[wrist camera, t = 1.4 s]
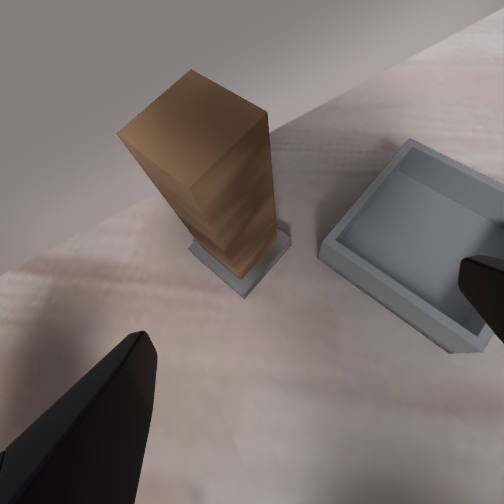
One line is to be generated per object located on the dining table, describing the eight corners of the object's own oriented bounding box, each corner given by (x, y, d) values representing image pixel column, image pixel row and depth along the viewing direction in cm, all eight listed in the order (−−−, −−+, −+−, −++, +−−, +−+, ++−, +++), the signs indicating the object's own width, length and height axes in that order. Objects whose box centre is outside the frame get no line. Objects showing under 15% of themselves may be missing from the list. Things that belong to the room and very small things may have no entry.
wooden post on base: (244, 298, 23) (188, 216, 10) (193, 255, 25) (89, 137, 12) (291, 245, 24) (296, 107, 11) (239, 207, 26) (191, 52, 13)
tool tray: (449, 353, 20) (482, 352, 16) (317, 258, 23) (322, 240, 20) (524, 238, 22) (566, 215, 19) (393, 167, 25) (409, 137, 22)
